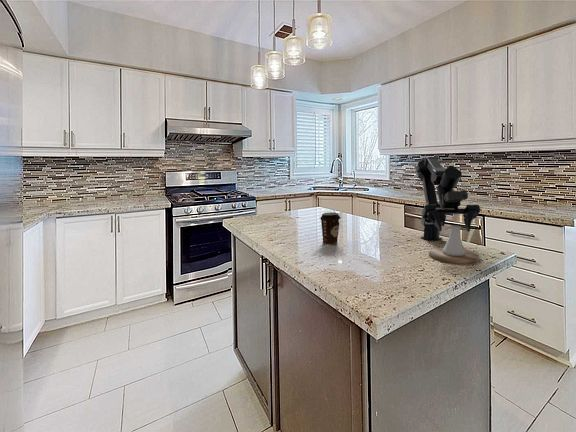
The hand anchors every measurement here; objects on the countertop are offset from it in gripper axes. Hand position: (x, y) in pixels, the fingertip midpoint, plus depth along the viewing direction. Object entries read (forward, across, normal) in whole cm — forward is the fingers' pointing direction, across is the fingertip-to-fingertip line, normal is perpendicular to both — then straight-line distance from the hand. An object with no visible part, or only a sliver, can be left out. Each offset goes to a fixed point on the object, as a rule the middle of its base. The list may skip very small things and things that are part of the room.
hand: (454, 230), depth 111 cm
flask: (+6, 0, +6) cm, 9 cm away
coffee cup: (-4, -44, +18) cm, 48 cm away
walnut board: (+7, 0, +6) cm, 10 cm away
